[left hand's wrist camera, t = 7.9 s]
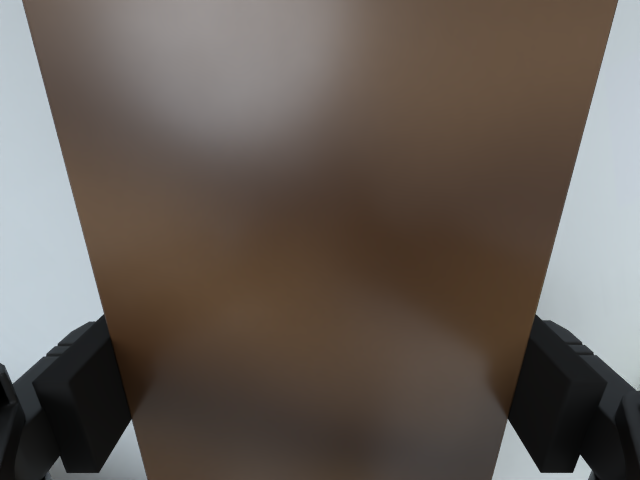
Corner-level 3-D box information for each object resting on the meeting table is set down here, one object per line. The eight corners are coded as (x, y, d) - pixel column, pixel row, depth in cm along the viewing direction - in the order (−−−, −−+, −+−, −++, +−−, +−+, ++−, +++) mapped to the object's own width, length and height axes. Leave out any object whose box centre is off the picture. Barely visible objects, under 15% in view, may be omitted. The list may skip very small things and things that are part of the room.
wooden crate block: (167, -176, 11) (-218, -897, 3) (473, -176, 11) (857, -894, 3) (224, 319, 18) (147, 486, 10) (415, 319, 18) (491, 486, 10)
